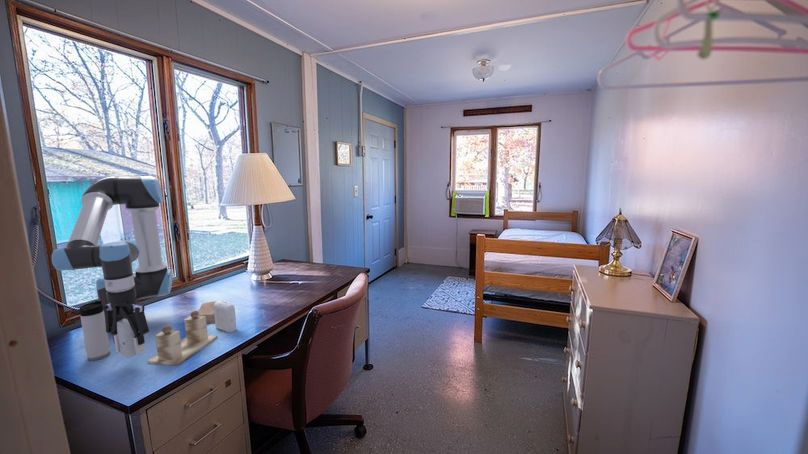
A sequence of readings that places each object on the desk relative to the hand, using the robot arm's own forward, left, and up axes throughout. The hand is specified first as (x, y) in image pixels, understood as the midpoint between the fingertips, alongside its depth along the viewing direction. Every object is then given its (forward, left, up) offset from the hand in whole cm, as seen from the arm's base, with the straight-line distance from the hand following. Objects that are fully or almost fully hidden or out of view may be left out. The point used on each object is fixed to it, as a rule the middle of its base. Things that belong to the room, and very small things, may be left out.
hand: (130, 351), depth 117 cm
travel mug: (-18, +3, -5) cm, 19 cm away
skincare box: (0, 0, -1) cm, 1 cm away
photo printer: (+14, +29, -5) cm, 33 cm away
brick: (-2, +40, -5) cm, 41 cm away
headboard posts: (+10, +11, -5) cm, 16 cm away
